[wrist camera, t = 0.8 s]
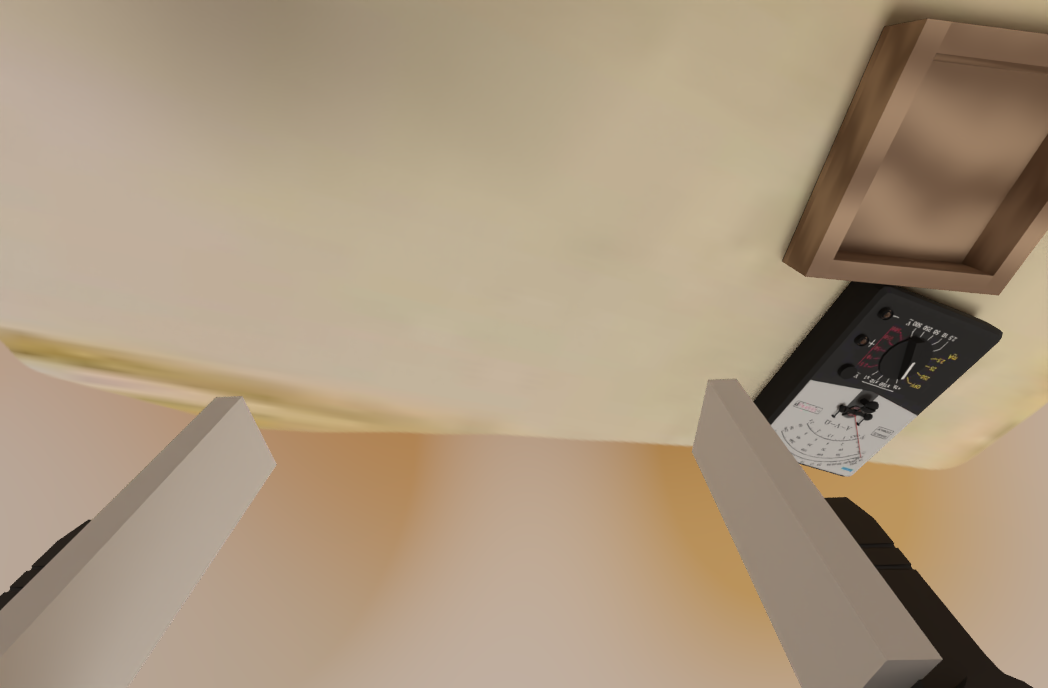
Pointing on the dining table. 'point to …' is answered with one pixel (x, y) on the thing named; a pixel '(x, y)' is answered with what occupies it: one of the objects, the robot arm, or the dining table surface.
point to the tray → (935, 163)
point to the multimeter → (869, 373)
